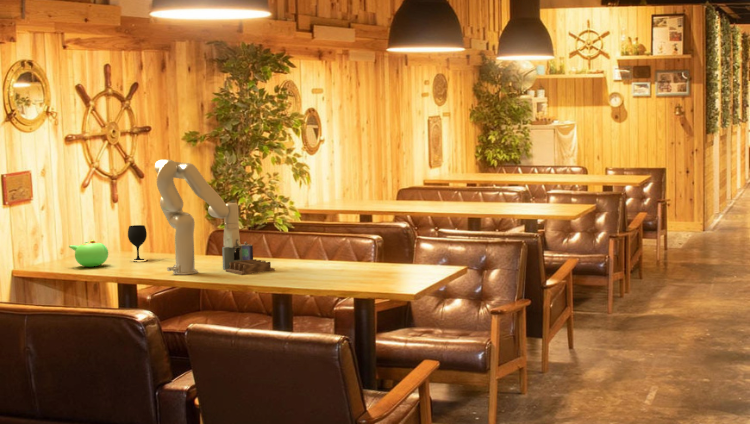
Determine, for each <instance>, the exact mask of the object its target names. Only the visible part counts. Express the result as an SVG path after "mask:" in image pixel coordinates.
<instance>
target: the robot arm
mask: <svg viewBox="0 0 750 424" xmlns="http://www.w3.org/2000/svg"><path fill="white" fill-rule="evenodd" d="M154 171H155V173H156V174H157V176H156V187H157V189H158V192H159V194H160V196H161V197H160V200H159V206H160V208H161V211H162V213H163V215H164V216H165V219H166V220H167V222H168V223H169V226H171V228H173V229H175V235H174V246H175V247H174V248H175V249H174V250H175V264H173V266H169V267H166V269H167V272H172V273H173V274H174V275H180V276H181V275H185V276H186V275H193V274H194V275H195V274H197V273H198V272H199V270H198V269H195V242H194V239H195V238H194V237H195V236H194V234H195V219H194V216H193V215H191V214H190V213H188V212H185V211H183V208H184V201H183V198H182V197H181V195H180V192H179V191H178V189H177V186H176V185H175V181H174V179H180V180H181V179H182V180H184V181H185V182H186V184H187V185H188V186H189V187H190V189H191V191H192V192H193V194H195V195H196V196H197V197H198V198H200V199H202V200H203V202H204V201H205V203H207V205H209V207H208V210H207V211H208V214H209V215H210V216H211V217H213V218H217V219H221V220H222V219H223V220H224V222H223V223H224V225H223V226H224V229H223V239H222V240H223V243H222V244H223V247H229V248H233V249H234V252H235V253H234V260H240V250H241V244H242V243H241V238H240V229H239V228H240V223H239V222H240V221H239V204H238V203H236V202H227V203H226V202H225V201H224V200H223V198H222V197H221V196H220V195H219V193H218V192H217V191H216V190H215V189H214V188H213V187H212V186H211V185H210V184H209V183H208V181H207V180H206V179H205V177H204V175H202V173H201V172H200V171H199V169H198V168H197V166H196V165H194V164H193V163H191V162H190V163H189V162H179V161H175V160H172V159H168V158H167V159H165V158H164V159H159V160H157V161H156V162H155V165H154ZM235 246H237V247H235ZM236 248H237V249H236Z"/></svg>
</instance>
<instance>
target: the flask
mask: <svg viewBox="0 0 750 424" xmlns="http://www.w3.org/2000/svg"><path fill="white" fill-rule="evenodd" d="M243 243H244V244H242V243H240V244H241V246H242V260H243V261H245V260H253V259H254V246H253V244H251V243H248V241H243Z"/></svg>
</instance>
